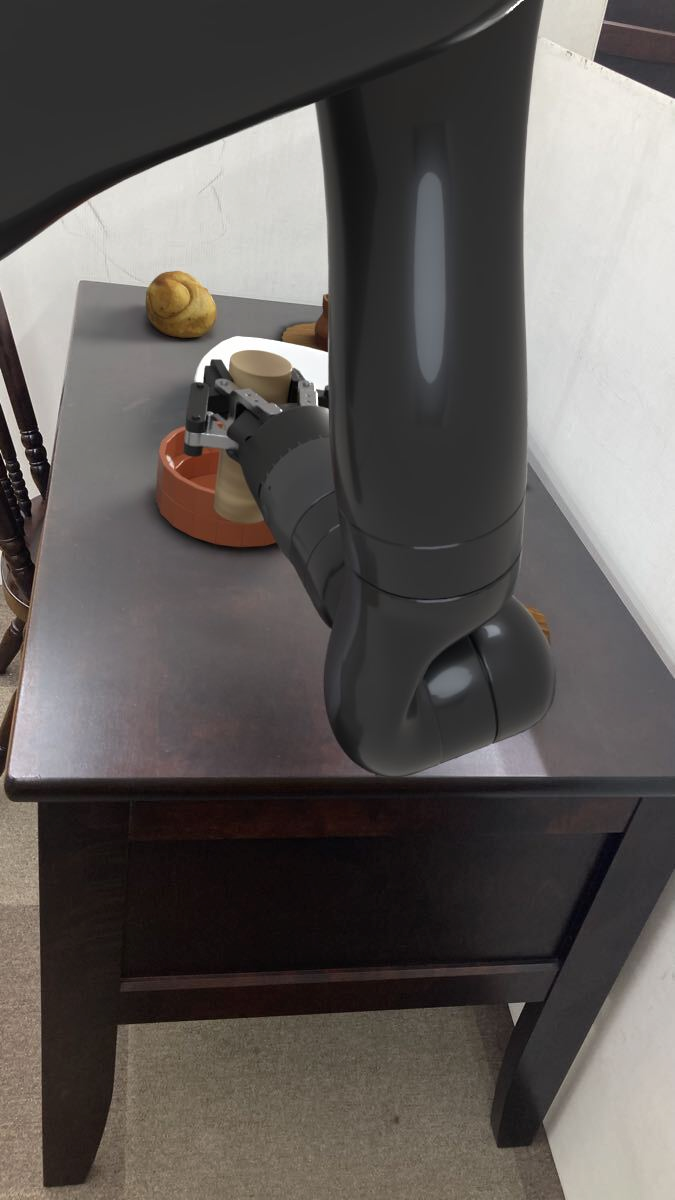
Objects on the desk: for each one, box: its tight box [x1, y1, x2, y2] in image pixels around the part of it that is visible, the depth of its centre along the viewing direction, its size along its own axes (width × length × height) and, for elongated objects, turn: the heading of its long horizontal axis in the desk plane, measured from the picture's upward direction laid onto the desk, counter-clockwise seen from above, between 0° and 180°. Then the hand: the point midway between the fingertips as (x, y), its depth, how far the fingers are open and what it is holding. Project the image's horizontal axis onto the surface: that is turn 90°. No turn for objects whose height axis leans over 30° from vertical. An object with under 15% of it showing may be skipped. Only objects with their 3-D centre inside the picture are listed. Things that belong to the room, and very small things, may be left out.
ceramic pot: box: [281, 293, 328, 352], centre depth 130 cm, size 18×18×7 cm
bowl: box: [193, 335, 328, 390], centre depth 108 cm, size 22×22×5 cm
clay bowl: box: [155, 420, 277, 548], centre depth 89 cm, size 15×15×6 cm
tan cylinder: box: [214, 350, 292, 524], centre depth 66 cm, size 4×4×12 cm
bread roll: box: [145, 270, 218, 339], centre depth 125 cm, size 13×10×8 cm
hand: (247, 372), depth 65 cm, fingers closed on tan cylinder, 4 cm apart
